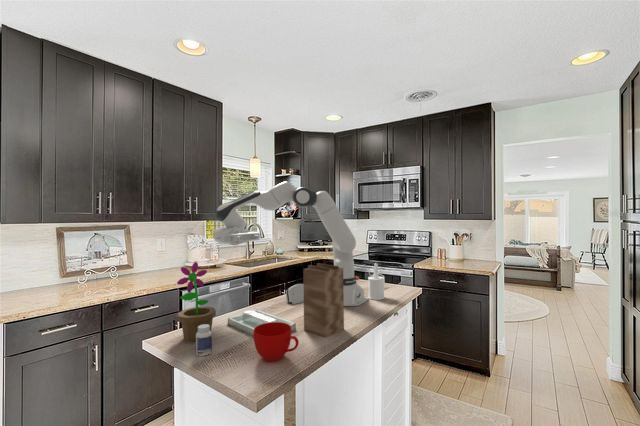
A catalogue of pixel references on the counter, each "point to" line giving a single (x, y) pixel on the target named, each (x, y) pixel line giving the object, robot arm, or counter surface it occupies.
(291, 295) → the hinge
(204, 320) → the flowerpot
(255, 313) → the block
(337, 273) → the ridged wooden post
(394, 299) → the counter surface
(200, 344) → the pill bottle
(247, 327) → the tray
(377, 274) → the white soap dispenser
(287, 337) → the ceramic cup
